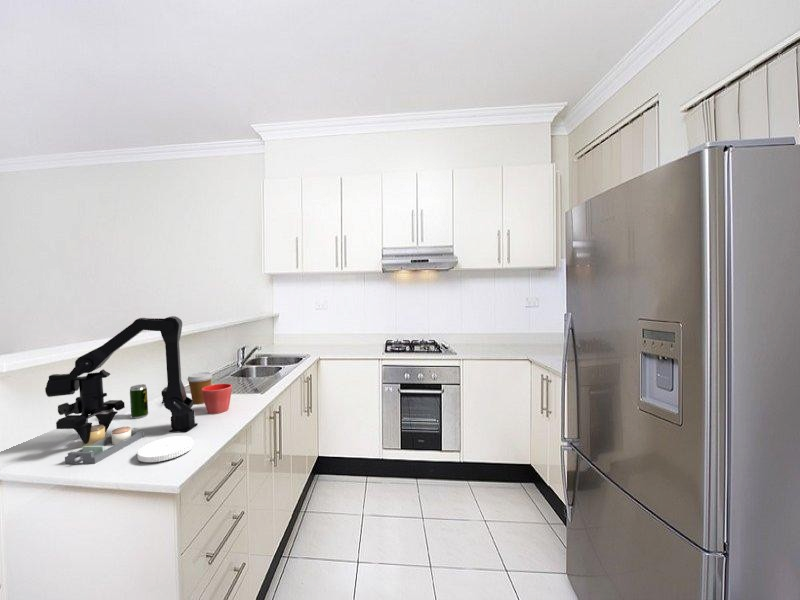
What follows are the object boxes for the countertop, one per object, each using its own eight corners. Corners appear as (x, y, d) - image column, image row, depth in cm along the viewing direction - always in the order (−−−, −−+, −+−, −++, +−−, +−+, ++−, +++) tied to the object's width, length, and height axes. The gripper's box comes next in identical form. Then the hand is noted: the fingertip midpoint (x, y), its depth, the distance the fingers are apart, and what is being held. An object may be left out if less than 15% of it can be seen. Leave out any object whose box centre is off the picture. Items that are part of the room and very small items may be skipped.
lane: (143, 436, 119) (143, 427, 119) (94, 463, 101) (94, 453, 101) (118, 436, 119) (117, 427, 119) (65, 463, 101) (64, 453, 101)
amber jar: (110, 439, 118) (109, 424, 118) (95, 446, 112) (94, 431, 112) (94, 439, 118) (93, 424, 118) (78, 446, 112) (77, 431, 112)
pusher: (104, 454, 106) (104, 445, 106) (86, 464, 100) (85, 455, 100) (84, 454, 106) (84, 445, 106) (65, 464, 100) (64, 455, 100)
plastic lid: (125, 464, 101) (124, 455, 101) (165, 442, 115) (165, 434, 115) (168, 467, 99) (167, 458, 98) (203, 444, 112) (203, 436, 112)
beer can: (130, 420, 135) (128, 389, 134) (131, 416, 139) (130, 385, 138) (148, 417, 137) (146, 386, 137) (148, 413, 142) (147, 383, 141)
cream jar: (135, 438, 118) (134, 426, 118) (123, 445, 113) (123, 432, 113) (120, 438, 118) (119, 426, 118) (107, 445, 113) (107, 432, 113)
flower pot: (212, 406, 148) (211, 383, 148) (237, 405, 148) (236, 382, 147) (196, 415, 138) (195, 391, 137) (224, 415, 137) (223, 390, 137)
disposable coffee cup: (205, 405, 150) (204, 377, 149) (183, 405, 150) (182, 377, 149) (217, 398, 159) (216, 371, 159) (196, 398, 159) (195, 372, 159)
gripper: (94, 384, 124) (96, 428, 125) (37, 401, 106) (40, 453, 106) (124, 384, 124) (127, 427, 124) (72, 401, 105) (75, 453, 106)
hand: (94, 439), depth 115 cm, fingers closed on amber jar, 5 cm apart
